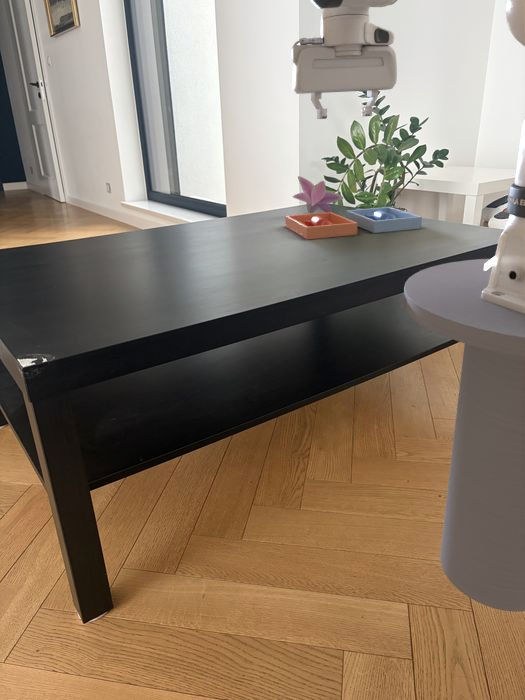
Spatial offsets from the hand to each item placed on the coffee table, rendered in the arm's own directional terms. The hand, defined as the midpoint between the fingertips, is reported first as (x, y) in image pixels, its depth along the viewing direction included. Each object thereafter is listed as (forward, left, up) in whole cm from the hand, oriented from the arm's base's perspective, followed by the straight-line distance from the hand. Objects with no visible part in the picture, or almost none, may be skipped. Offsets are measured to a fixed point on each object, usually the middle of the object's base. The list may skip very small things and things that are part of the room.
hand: (344, 117), depth 107 cm
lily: (+22, -2, -23) cm, 32 cm away
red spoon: (+6, +3, -22) cm, 23 cm away
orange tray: (+6, +3, -23) cm, 24 cm away
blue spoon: (+6, -12, -22) cm, 26 cm away
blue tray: (+6, -12, -23) cm, 27 cm away
